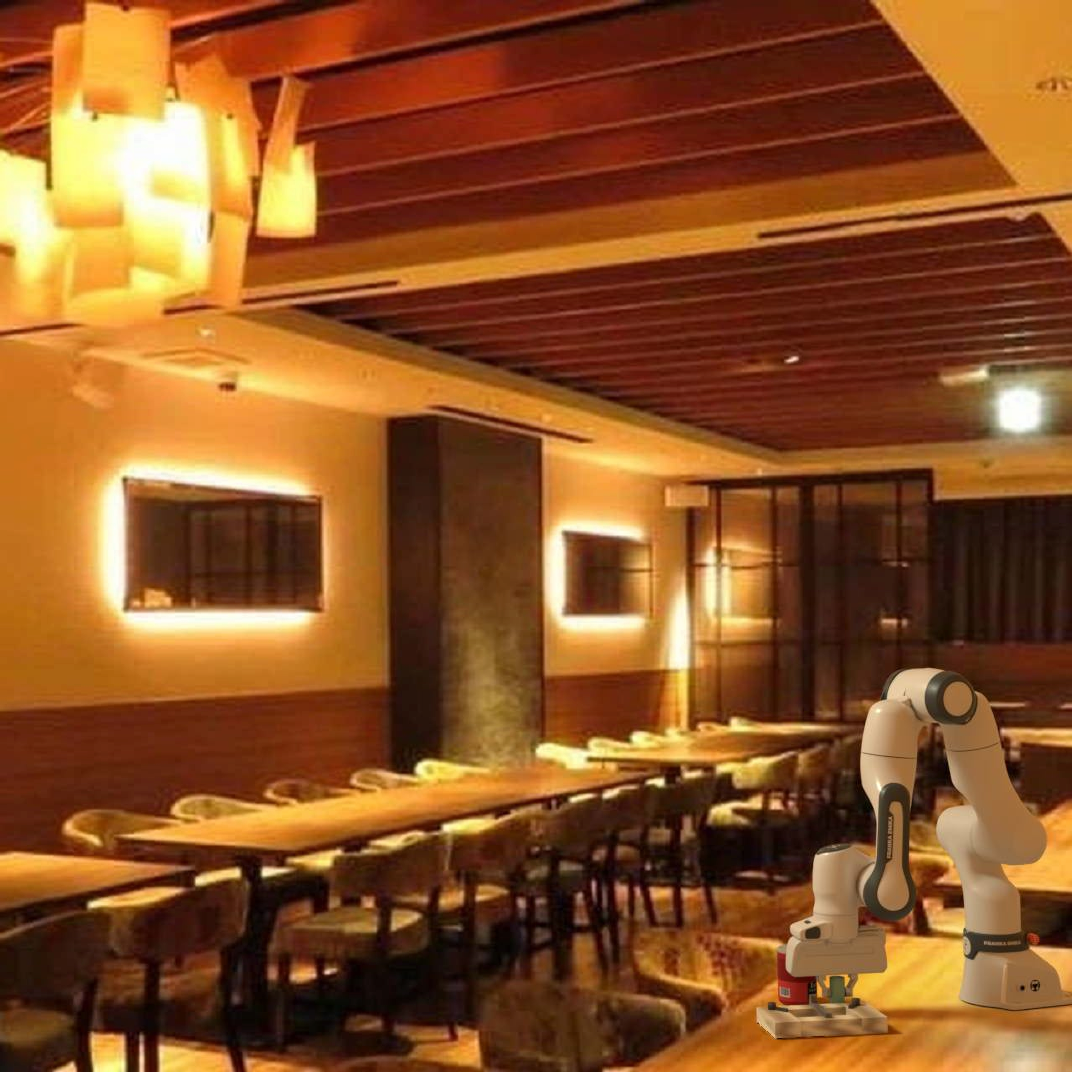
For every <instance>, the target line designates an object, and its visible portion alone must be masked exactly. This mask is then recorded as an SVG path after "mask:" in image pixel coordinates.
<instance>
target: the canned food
mask: <svg viewBox="0 0 1072 1072" xmlns="http://www.w3.org/2000/svg"><path fill="white" fill-rule="evenodd" d="M776 949H777V951H776V958H777V959H776V960H777V962H776V963H777V964H776V965H777V966H776V967H777V968H776V969H777V970H776V971H777V998H778V1001H780V1002H781V1003H780V1002H779V1003H780V1004H782V1003H783V1004H782V1005H784V1004H786V1005H785V1006H789V1005H810V1004H809V994H816V995H817V996H818V981H817V980H816V976H803V977H794V976H792V975H791V974H789V973H788V971H787V970H786V951H787V944H782V945H779V946H777V947H776Z"/></svg>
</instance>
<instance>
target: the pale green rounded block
mask: <svg viewBox="0 0 1072 1072" xmlns="http://www.w3.org/2000/svg"><path fill="white" fill-rule="evenodd" d="M828 979H829V988H830V989H832V993H831V995H832V998H829V1004H834V1003H846V997H845V986H846V984H845V983H846V982H845V981H846V980H845V976H842V975H829V978H828Z"/></svg>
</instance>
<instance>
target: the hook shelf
mask: <svg viewBox="0 0 1072 1072" xmlns="http://www.w3.org/2000/svg"><path fill="white" fill-rule="evenodd" d="M809 1004H810V1005H793V1006H789V1005H779V1006H778V1005H777V1002H775V1001H769V1002H767V1006H758V1007H756V1023H757V1022H758V1023H759V1024H760V1025H759V1024H758V1025H759V1027H761V1026H762V1027H763V1028H764V1029H765V1030H766V1032H767V1031H768V1032H769V1033H770V1034H771V1035H770V1034H769V1033H768V1032H767V1033H768V1034H769V1035H770V1036H771V1037H772V1036H773V1037H774V1038H773V1037H772V1038H773V1039H774V1040H778V1039H777V1038H787V1039H797V1038H796V1037H806V1038H813V1037H812V1036H825V1037H838V1036H839V1037H842V1036H859V1035H878V1034H879V1035H880V1034H888V1032H889V1031H888V1028H889V1027H888V1025H889V1024H888V1016H887V1015H885V1014H884V1013H882V1012H880V1011H879V1010H877V1009H876V1008H875V1007H873V1006H872V1005H870V1004H868V1003H867V1002H865V1001H861V998H860V997H851V1002H845V1003H834V1004H830V1003H818V994H817V995H816V994H809ZM762 1027H761V1028H762ZM763 1028H762V1029H763ZM764 1029H763V1030H764ZM765 1030H764V1031H765ZM810 1036H811V1037H810Z"/></svg>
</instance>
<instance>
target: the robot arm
mask: <svg viewBox="0 0 1072 1072" xmlns="http://www.w3.org/2000/svg"><path fill="white" fill-rule="evenodd" d="M933 723H934V724H938V725H939V726H940V728H941V730H942V734H943V741H944V747H945V752H946V757H947V758H946V759H947V762H948V768H949V773H950V778H951V782H952V784H953V786H954V787H955V789H956V790H957V791H959V793H960V794H962V796H964V797H965V798H966V800H967V801H968V803H969V804H964V805H958V806H956V805H955V806H951V807H948V808H946V809H944V810H943V811H942V813H941V814H940V815H939V816H938V819H937V823H936V827H935V828H936V832H935V833H936V838H937V841H938V843H939V845H940V846H941V847H942V848H943V849H944V851H946V853H947V854H948V855H949V857H950V858H951V860H952V862H953V864H954V867H955V869H956V871H957V874H958V878H959V881H960V883H961V888H962V894H963V905H964V907H963V908H964V927H963V929H962V933H963V934H962V950H963V956H964V964H963V965H964V967H963V974H962V982H961V987H960V990H959V994H958V998H959V1000H961V1001H963V1002H965V1003H968V1004H969V1003H970V1004H973V1005H978V1006H984V1007H992V1008H998V1009H999V1008H1000V1009H1004V1010H1010V1011H1019V1010H1027V1009H1036V1008H1045V1007H1055V1006H1064V1005H1065V1006H1066V1005H1072V994H1071V993H1069V992H1067V991H1065V990H1063V988H1062V985H1061V979H1060V975H1059V973H1058V970H1057V969H1056V968H1055V966H1053V965H1051V964H1050V963H1049V962H1048V961H1047V960H1046V959H1044V958H1043V957H1041V956H1040V954H1039V953H1038V954H1037V953H1036V951H1034V950H1032V949H1031V947H1030V944H1032V945H1034V946H1035V945H1036V946H1037V944H1039V942H1040V937H1039V936H1038V934H1034V933H1033V932H1030V933H1028V932H1026V931H1024V930H1022V924H1021V922H1022V921H1021V920H1022V919H1021V918H1022V917H1021V894H1020V892H1019V890H1018V888H1017V887H1016V886H1015V884H1013V883H1012V881H1010V879H1009V878H1008V876H1007V874H1006V873H1005V871H1004V869H1003V865H1008V866H1024V865H1025V866H1026V865H1032V864H1035V863H1037V862H1038V861H1040V859H1042V857H1043V855H1044V854H1045V852H1046V849H1047V844H1048V837H1047V836H1048V835H1047V832H1046V828H1045V826H1044V824H1043V823H1042V822H1041V820H1039V819H1038V818H1037V817H1036V816H1035V815H1034V814H1032V812H1030V810H1029V809H1028V808H1027V807H1026V805H1024V803H1023V801H1022V800H1021V798H1020V796H1019V795H1018V793H1017V792H1016V789H1015V788H1014V786H1013V784H1012V782H1011V779H1010V777H1009V773H1008V771H1007V766H1006V762H1005V758H1004V753H1003V748H1002V743H1001V738H1000V734H999V730H998V729H999V728H998V725H997V722H996V719H995V717H994V713H993V710H992V708H991V705H990V702H989V701H988V699H987V697H985V695H984V694H983V693H981V692H978V691H976V690H975V689H974V687H973V685H972V684H971V683H970V681H969V680H968V679H967V678H966V677H965V676H963V675H962V674H960V673H959V672H958V673H957V672H955V671H953V670H944V669H940V668H939V669H938V668H932V667H925V668H914V667H906V668H902V669H898V670H896V671H894V672H893V673H891V674H890V675H889V677H888V678H887V679H886V680H885V684H884V685H883V688H882V693H881V695H880V698H879V701H877V702H875V703H873V704H872V706H870V708H869V711H868V713H867V716H866V720H865V725H864V727H863V728H864V729H863V734H862V741H861V747H860V748H861V749H860V763H859V764H860V767H859V768H860V779H861V786H862V788H863V790H864V792H865V794H866V796H867V797H868V799H869V801H870V804H871V806H872V807H873V810H874V814H875V819H876V836H875V837H876V838H875V839H876V840H875V857H872V856H870V855H867V854H866V853H863V852H862V851H860V850H859V849H856V848H855V847H854V846H853V845H852V844H850V843H835V844H829V845H828V844H827V845H826V846H823V847H821V848H819V849H818V850H817V851H816V853H815V855H814V858H813V864H812V865H813V866H812V892H813V895H814V906H813V909H812V911H813V912H812V913H813V914H812V916H809V917H807V918H803V919H802V920H799V921H796V922H793V923H792V924H790V926H789V931H790V934H791V935H792V936H791V937H790V938H789V939H788V941H787V944H786V945H787V951H786V970H787V971H788V973H789V974H791V975H792V976H794V977H803V976H816V980H817V984H818V985H819V986H820V988H821V997H822V998H824V999H830V998H832V995H831V993H832V989H830V986H829V987H827V986H826V984H825V982H826V981H827V976H842V975H847V978H849V981H847V984H846V985H845V998H854V997H853V996H854V991H853V990H854V988H855V985H856V984H857V982H858V980H859V975H861V974H863V975H864V974H883V973H885V972H886V970H887V969H888V957H887V951H886V943H887V934H886V930H885V929H884V928H883V927H881V926H879V925H877V924H872V925H859V909H860V908H863V907H865V908H867V909H868V911H869V912H870V913H871V915H873V916H874V917H875V918H877V919H879V920H881V921H884V922H896V921H900V920H902V919H905V918H906V917H907V916H908V915H909V914H911V913H912V911H913V910H914V907H915V906H916V903H917V897H918V896H917V893H918V892H917V888H916V885H915V881H914V878H913V876H912V873H911V869H910V836H911V835H910V833H911V807H912V799H913V793H914V792H913V791H914V786H915V780H916V772H917V759H918V738H919V735H920V732H921V730H922V728H923V726H924V725H925V724H933Z"/></svg>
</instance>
